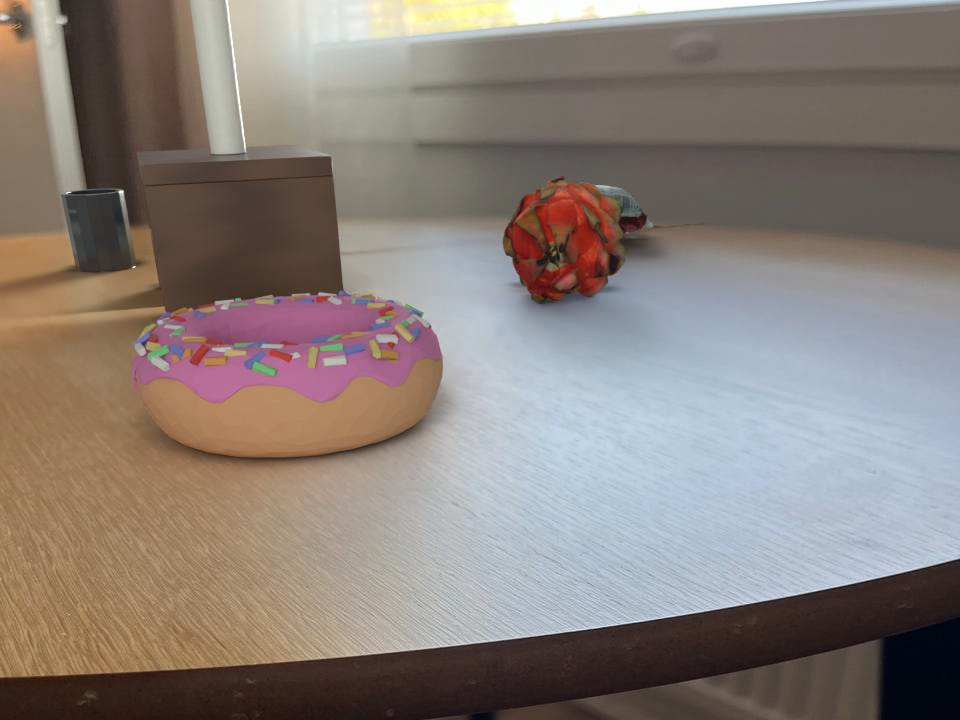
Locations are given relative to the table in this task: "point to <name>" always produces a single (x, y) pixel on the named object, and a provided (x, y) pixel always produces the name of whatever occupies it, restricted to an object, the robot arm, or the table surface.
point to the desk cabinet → (241, 223)
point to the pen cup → (99, 230)
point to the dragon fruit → (565, 240)
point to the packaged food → (627, 210)
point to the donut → (288, 373)
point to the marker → (218, 76)
